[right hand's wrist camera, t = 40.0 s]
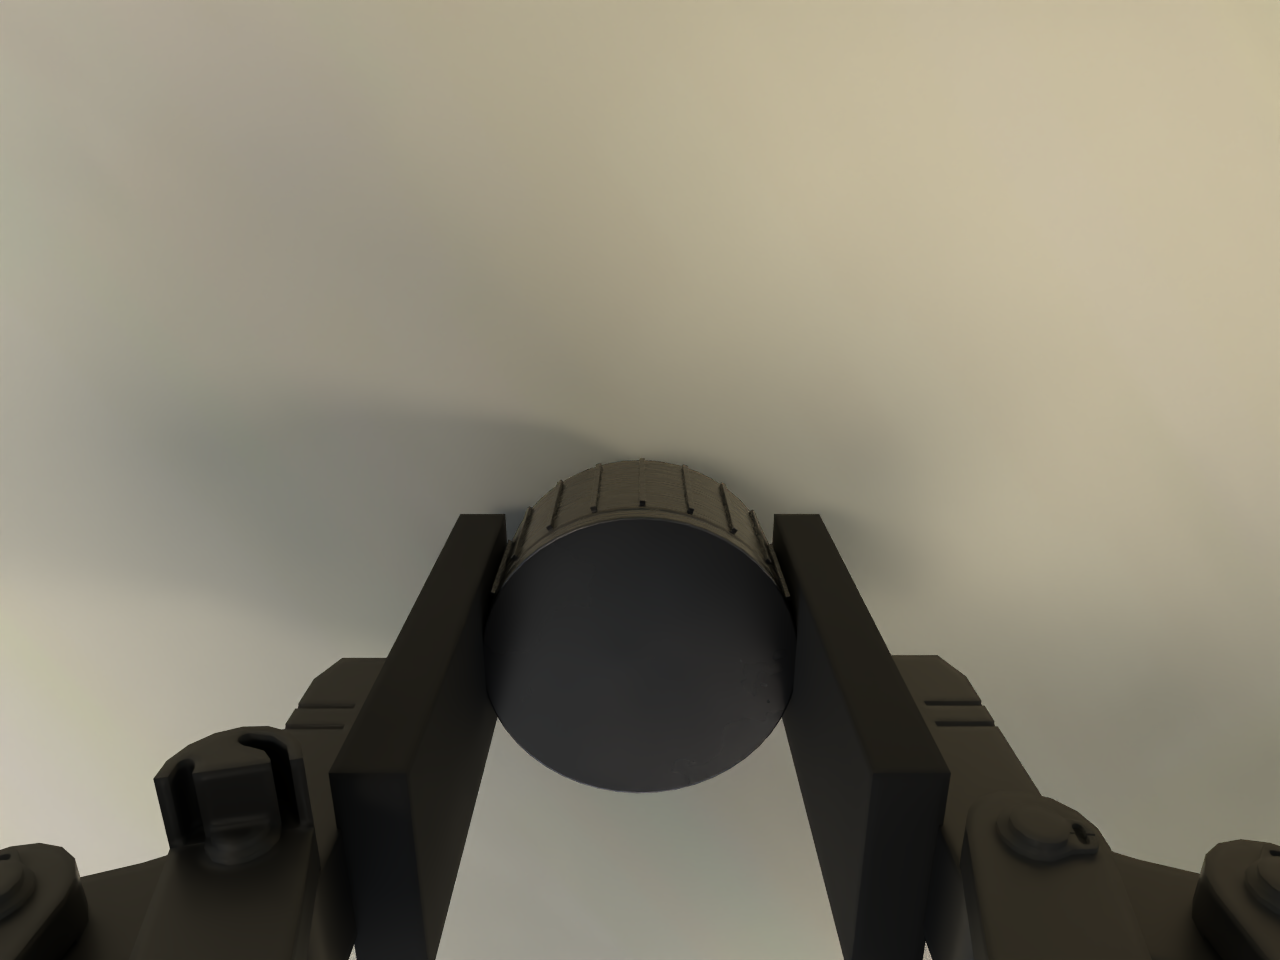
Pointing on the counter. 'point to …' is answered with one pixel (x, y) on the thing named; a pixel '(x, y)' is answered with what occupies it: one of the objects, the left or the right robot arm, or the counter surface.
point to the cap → (639, 630)
